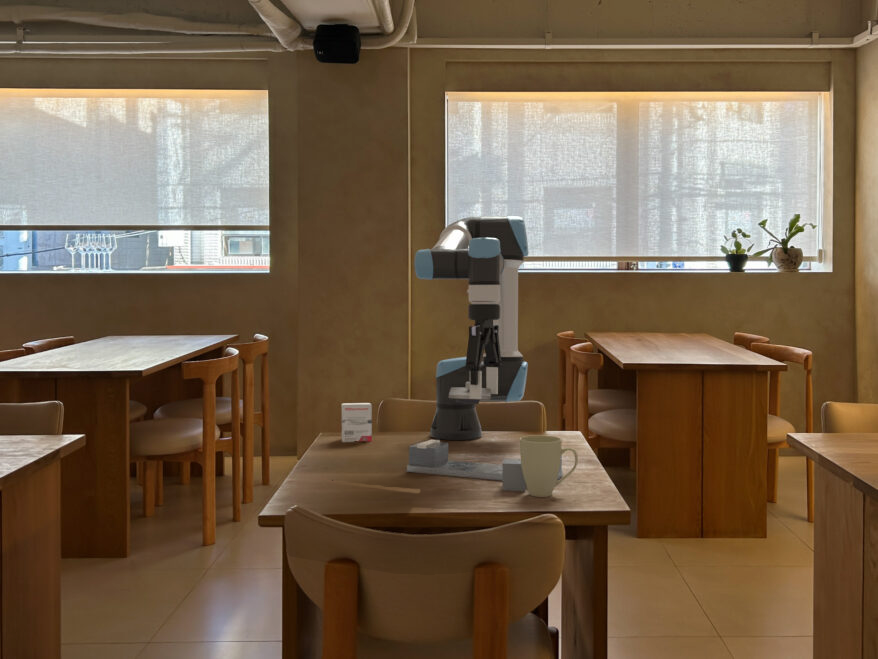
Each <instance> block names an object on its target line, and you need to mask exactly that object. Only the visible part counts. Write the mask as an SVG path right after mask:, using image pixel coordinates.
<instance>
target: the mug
mask: <svg viewBox="0 0 878 659" xmlns="http://www.w3.org/2000/svg"><path fill="white" fill-rule="evenodd" d="M562 440H563V439H562V438H561V437H558V436H554V435H553V436H551V435H540V434H539V435H538V434H537V435H525V436H522V437H521V436H520V437H519V451H520V452H519V453H520V460H521V467H522V472H523V476H524V479H525V482H526V490H527V492H528V494H529V496H531V497H537V498H545V497H547V498H548V497H551V496H552V495H553V492H554V489H555V487H556V485H557V484H559V483H561V482H563V481H564V480H565V479H567V478H568V477H569V476H571V474H572V473H573V472H574V471H575V470H576V469H577V466H578V462H579V461H578V460H579V455H578V452H577V450H576V449H575V448H574V447H569V446H567V447H562V442H563V441H562ZM567 451H572V452H573V454H574V465H573V467H572V468H571V470H569V471H568V473H567V474H565V475H563V477H561V478H560V479H559V480H557V476H558V473H559V468H560V459H561V455H563V454H565V452H567Z"/></svg>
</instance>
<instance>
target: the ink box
mask: <svg viewBox="0 0 878 659" xmlns="http://www.w3.org/2000/svg"><path fill="white" fill-rule="evenodd" d="M372 405H373V404H372V403H370V402H352V403H351V402H349V403H348V402H347V403H346V402H345V403H341V442H342V443H355V442H354V441H366V442H372V441H373V440H372V439H373V437H372V435H373V434H372V433H373V431H372V430H373V429H372V428H373V425H372V424H373V422H372V421H373V417H372V416H373V415H372V413H373V411H372V410H373V409H372V407H373V406H372Z"/></svg>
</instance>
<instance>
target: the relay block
mask: <svg viewBox="0 0 878 659" xmlns="http://www.w3.org/2000/svg"><path fill="white" fill-rule="evenodd" d="M501 465H502V484H501V485H502V487H501V489H502V491H509V492H510V491H511V492H515V491H516V492H526V490H527V486H526V482H525V479H524V476H523V472H522V467H521V458H520V459H515V458H514V459H512V458H510V459H508V458H504V459H503V460H502V463H501Z"/></svg>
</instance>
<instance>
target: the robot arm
mask: <svg viewBox="0 0 878 659" xmlns="http://www.w3.org/2000/svg"><path fill="white" fill-rule="evenodd" d="M527 236H528V235H527V229H526V224H525V220H524V218H523V217H521V216H517V215H516V216H515V215H497V216H494V215H490V216H470V217H464V218H462V219H459V220H456V221H455V222H451V223H450V224H449V225H447V226H446V227H444V229H443V230H442V232H441V233H440V235H439V239H438V240H437V242H436V243H435V245H434V246H433V247H432V248H431V249H430V248H426V249H419V250H417V251H416V252H415V254H414V272H415V276H416V277H417V278H418V279H419V280H429V281H431V280H468V289H467V290H466V293H467V294H468V302H469V303H470V304H469V305H468V308H467V309H468V311H467V312H468V314H467V316H468V319H469V320H470V321H474V324H473V325H474V326H471V325H470V326H469V327H468V342H467V350H466V356H462V357H453V358H448V359H443V360H439V361H438V363H437V364H436V371H435V372H436V374H435V380H436V383H435V384H436V386H435V387H436V388H435V389H436V390H435V391H436V392H435V394H436V396H435V398H436V400H435V402H436V404H435V405H436V408H435V409H436V410H435V413H434V417H433V419H432V422H431V426H430V434H429V435H430V437H431V438H434V439H437V440H448V441H449V440H451V441H454V440H455V441H460V440H461V441H462V440H475V439H479V438H481V437H482V426H481V423H480V420H479V417H478V416H479V415H478V413H477V411H476V408H477V407H476V405H477V404H464V403H462V402H456V398H449V392H450V389H451V388H452V387H463V388H466V382H470V399H479V402H504V403H508V402H520V401H521V400H522V399H523V397H524V395H525V389H526V384H527V377H528V368H529V367H528V366H529V364H528V362H527V361H523V360H524V355H523V354H522V353H521V352H520V351H519V346H518V345H519V341H518V340H519V335H518V334H519V268H520V267H521V266H522V265H523V263H524V257H528V256H529V243H528V242H529V241H528V237H527ZM482 388H488V389H491V399H488V400H487V399H482Z"/></svg>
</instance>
